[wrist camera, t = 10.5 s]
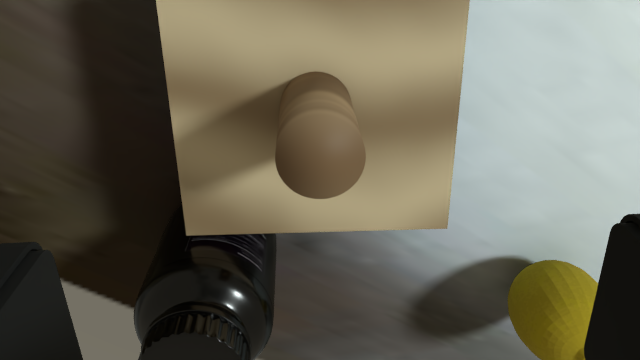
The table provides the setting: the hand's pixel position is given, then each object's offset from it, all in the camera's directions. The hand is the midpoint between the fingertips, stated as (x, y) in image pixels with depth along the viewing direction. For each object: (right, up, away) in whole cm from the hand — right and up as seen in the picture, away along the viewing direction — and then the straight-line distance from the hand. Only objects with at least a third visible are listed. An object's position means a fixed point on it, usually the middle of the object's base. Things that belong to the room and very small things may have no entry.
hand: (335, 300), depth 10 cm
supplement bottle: (-6, -1, +26) cm, 26 cm away
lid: (-1, +6, +17) cm, 18 cm away
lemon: (+14, -4, +28) cm, 31 cm away
